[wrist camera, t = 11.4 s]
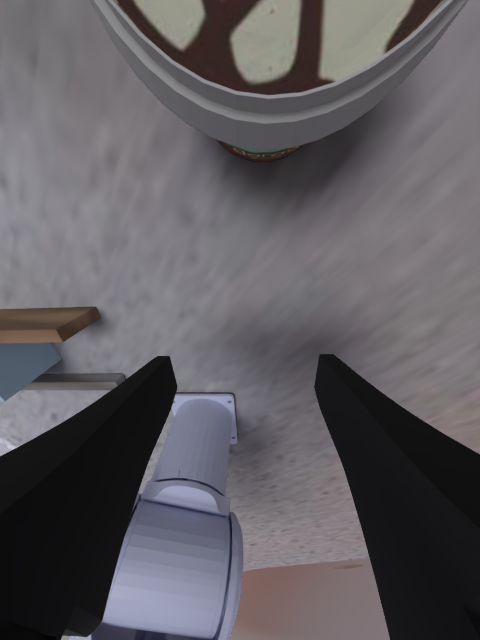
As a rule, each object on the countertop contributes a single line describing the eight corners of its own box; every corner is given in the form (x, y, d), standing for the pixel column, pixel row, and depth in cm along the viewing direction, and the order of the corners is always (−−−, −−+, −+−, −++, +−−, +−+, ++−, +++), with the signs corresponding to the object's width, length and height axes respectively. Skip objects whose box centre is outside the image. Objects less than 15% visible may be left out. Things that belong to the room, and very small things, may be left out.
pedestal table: (125, 381, 24) (101, 413, 20) (4, 381, 25) (-43, 412, 21) (95, 306, 20) (55, 329, 16) (-51, 310, 21) (-124, 333, 17)
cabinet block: (64, 364, 24) (9, 407, 18) (25, 364, 24) (-40, 407, 18) (39, 321, 21) (-33, 356, 16) (-5, 322, 21) (-90, 357, 16)
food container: (203, 206, 15) (139, 190, 6) (169, 100, 13) (-20, -175, 4) (375, 147, 13) (629, 4, 4) (377, 5, 11) (1026, -1081, 2)
